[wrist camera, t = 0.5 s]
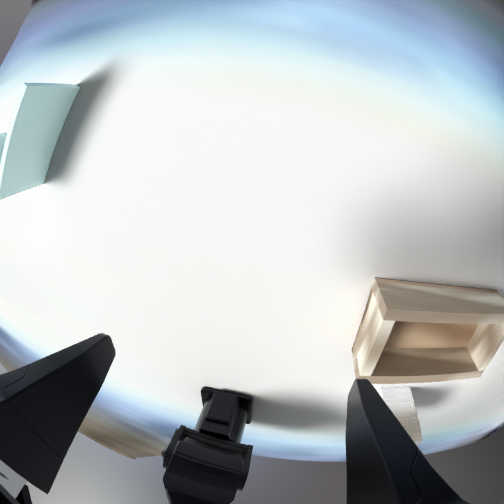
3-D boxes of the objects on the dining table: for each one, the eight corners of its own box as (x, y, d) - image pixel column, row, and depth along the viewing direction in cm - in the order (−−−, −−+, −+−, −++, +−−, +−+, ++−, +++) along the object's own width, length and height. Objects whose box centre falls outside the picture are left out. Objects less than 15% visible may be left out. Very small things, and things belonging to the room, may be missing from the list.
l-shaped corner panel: (84, 88, 19) (27, 86, 12) (47, 182, 24) (-2, 200, 17) (40, 57, 18) (-6, 55, 11) (10, 138, 23) (-31, 148, 16)
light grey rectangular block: (397, 405, 27) (405, 456, 19) (369, 406, 27) (374, 459, 20) (409, 386, 25) (422, 440, 18) (381, 387, 26) (389, 444, 18)
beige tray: (466, 350, 22) (479, 376, 18) (351, 348, 24) (356, 382, 20) (495, 290, 19) (516, 314, 14) (374, 277, 21) (387, 308, 17)
